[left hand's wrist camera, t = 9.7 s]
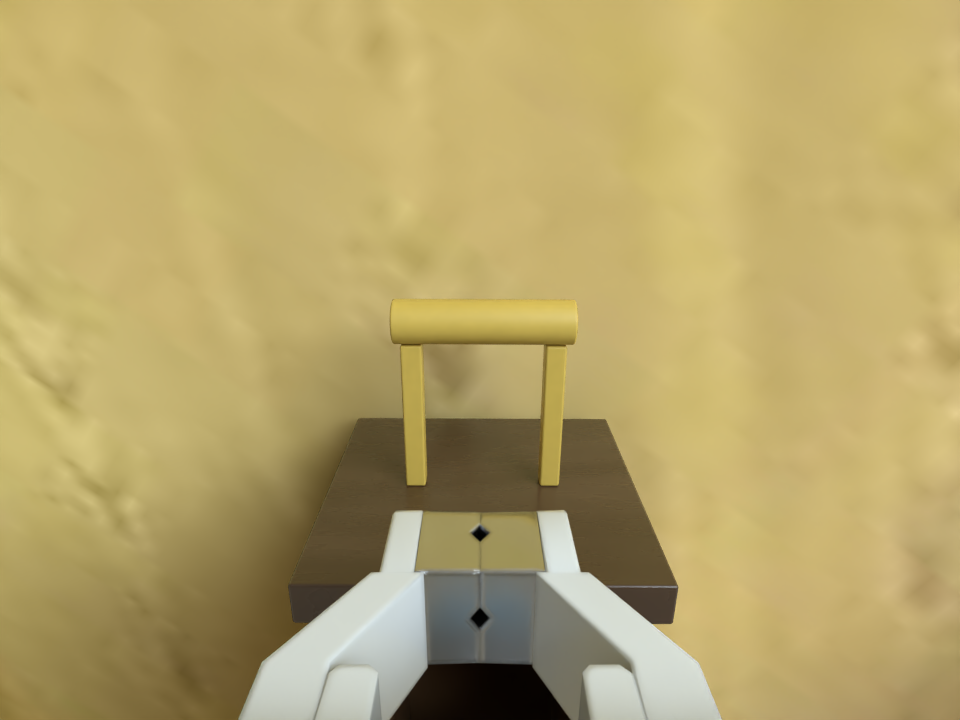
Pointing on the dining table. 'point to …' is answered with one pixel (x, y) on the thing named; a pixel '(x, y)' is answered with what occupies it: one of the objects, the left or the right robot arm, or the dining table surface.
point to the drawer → (483, 495)
